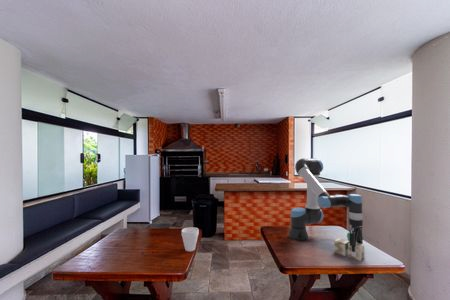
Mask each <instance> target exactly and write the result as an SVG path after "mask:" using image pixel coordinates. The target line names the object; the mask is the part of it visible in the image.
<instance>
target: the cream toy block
mask: <svg viewBox="0 0 450 300" xmlns="http://www.w3.org/2000/svg"><path fill="white" fill-rule="evenodd" d="M333 243H334V244H333V245H334V246H333V247H334V248H333V251H334V252H336V253H335V254H337V253H338V254H337V255H339V254H341V255H340V256H342V255H344V256H343V257H345V256H346V249H347V248H348V244H349V243H350V242H349V241H348V239H347V240H346V239H343V238H339V237H338V238H336V239H334V240H333ZM334 252H333V253H334Z"/></svg>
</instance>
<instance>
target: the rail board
mask: <svg viewBox="0 0 450 300" xmlns="http://www.w3.org/2000/svg"><path fill="white" fill-rule="evenodd" d="M333 253H334V254H336V255H340V256H343V257H346V258H348V259H352V260H355V261H357V262H362V261H364V260H365V259H366V257H365V258H362V253H361V261H359V260H356V259H354V258H351V257H348V248H347V249H346V256H344V255H341V254H338V253H336V252H333Z"/></svg>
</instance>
